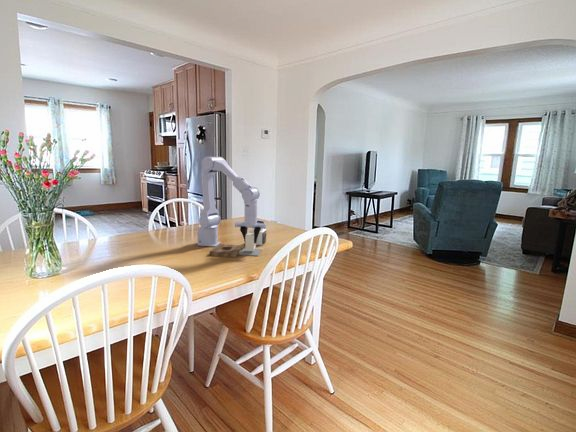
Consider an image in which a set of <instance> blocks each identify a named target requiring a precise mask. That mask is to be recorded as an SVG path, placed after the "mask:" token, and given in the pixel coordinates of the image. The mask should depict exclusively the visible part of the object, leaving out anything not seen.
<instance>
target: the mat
mask: <svg viewBox="0 0 576 432" xmlns="http://www.w3.org/2000/svg"><path fill="white" fill-rule="evenodd" d="M262 251H263V249H258V248H255V249H254V250H245V247H244V248H243V247H242V251H241V252H240V253H239V254H238V255H239V256H248V257H250V256H253V257H258V256H259V255H260V254H261V253H262Z"/></svg>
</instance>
